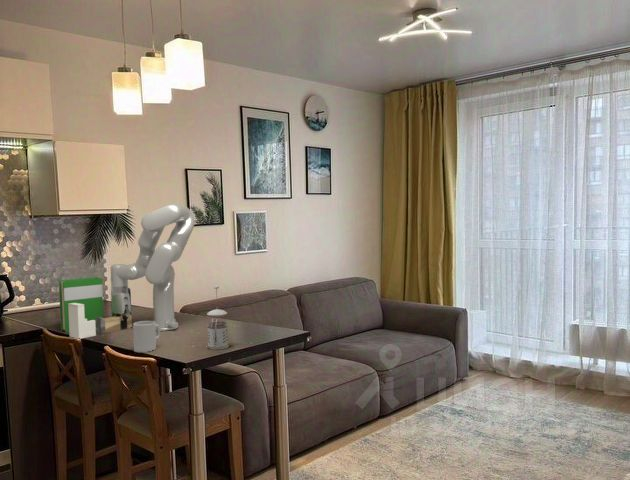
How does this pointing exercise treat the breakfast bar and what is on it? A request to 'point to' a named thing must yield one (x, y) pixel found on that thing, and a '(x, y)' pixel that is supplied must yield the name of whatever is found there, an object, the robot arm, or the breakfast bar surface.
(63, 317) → the hardback book
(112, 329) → the light wood block
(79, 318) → the white stepped block
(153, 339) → the mug
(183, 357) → the breakfast bar surface
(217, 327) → the french press
